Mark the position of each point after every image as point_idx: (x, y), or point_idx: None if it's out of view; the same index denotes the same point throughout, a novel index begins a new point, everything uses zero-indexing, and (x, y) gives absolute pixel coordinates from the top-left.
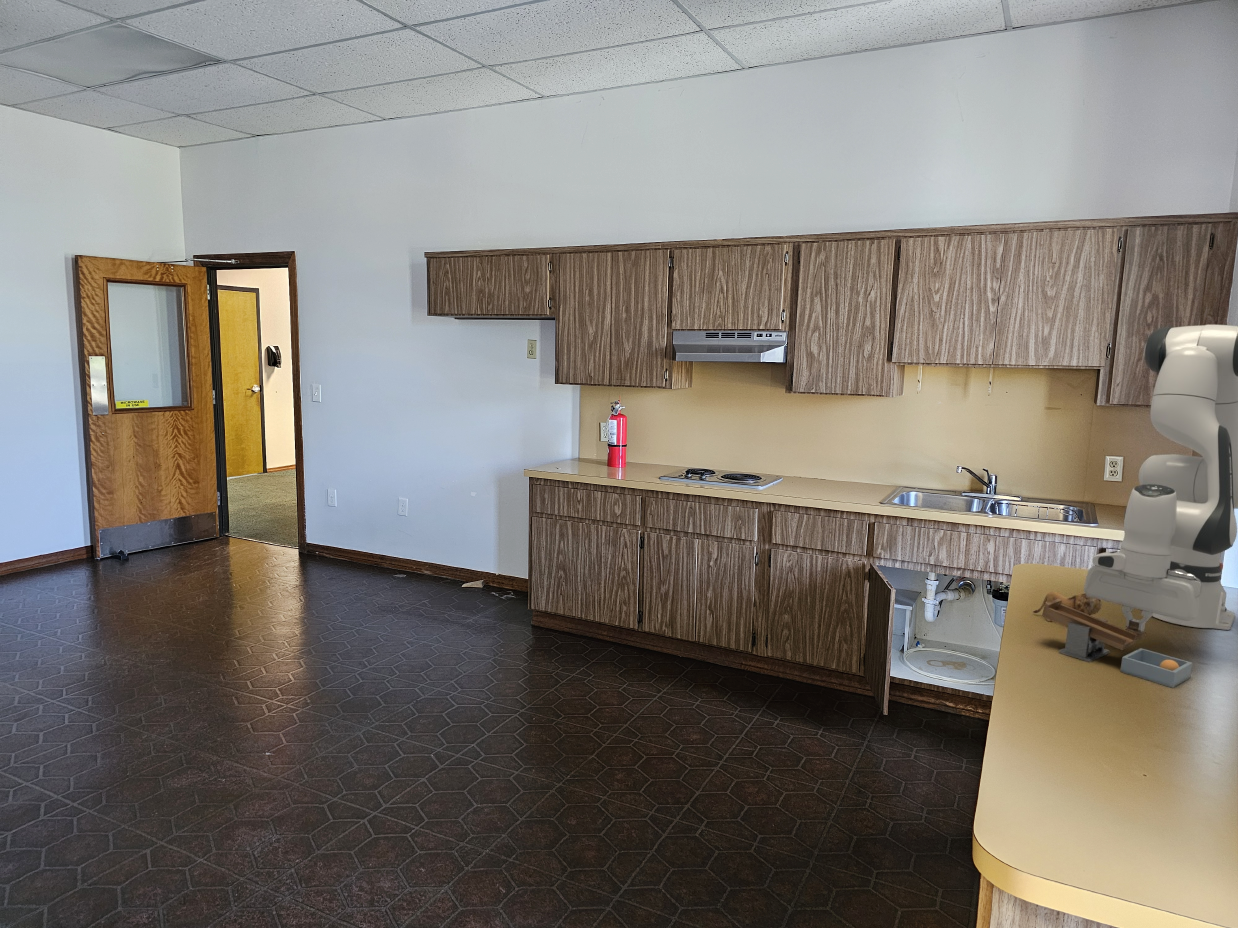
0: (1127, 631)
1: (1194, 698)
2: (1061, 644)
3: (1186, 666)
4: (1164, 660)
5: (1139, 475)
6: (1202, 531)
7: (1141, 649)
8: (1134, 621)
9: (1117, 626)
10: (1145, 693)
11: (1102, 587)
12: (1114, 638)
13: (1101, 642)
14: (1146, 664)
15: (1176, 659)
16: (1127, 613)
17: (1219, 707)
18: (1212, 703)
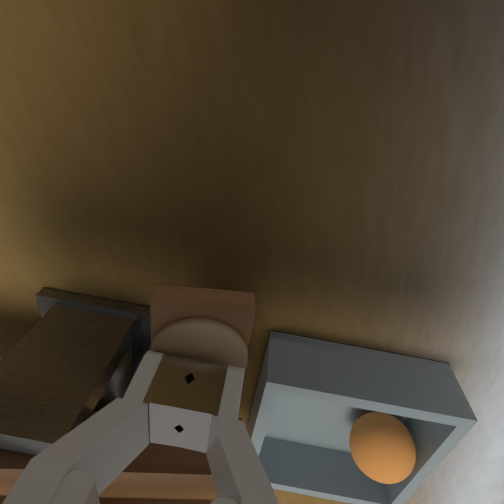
0: (197, 480)
1: (433, 482)
2: (20, 328)
3: (443, 456)
4: (366, 470)
5: None
6: None
7: (273, 395)
8: (179, 446)
9: (138, 473)
10: (323, 501)
11: None
12: None
13: (126, 384)
14: (313, 494)
15: (412, 415)
16: (102, 484)
17: (487, 497)
18: (475, 487)
